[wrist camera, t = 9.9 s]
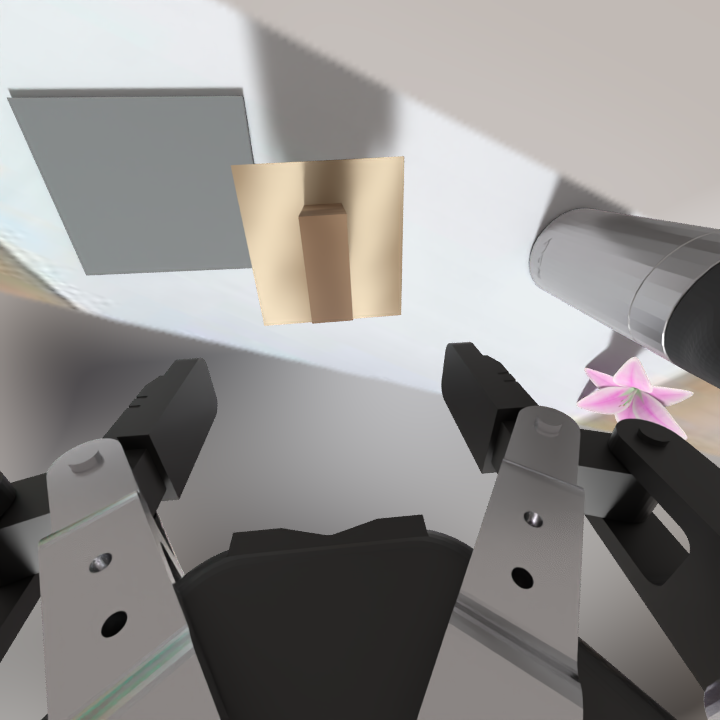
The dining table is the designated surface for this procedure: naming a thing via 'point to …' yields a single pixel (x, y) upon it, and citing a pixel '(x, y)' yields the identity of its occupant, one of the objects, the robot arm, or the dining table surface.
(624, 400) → the lily
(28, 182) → the dining table surface
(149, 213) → the mat
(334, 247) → the lid
